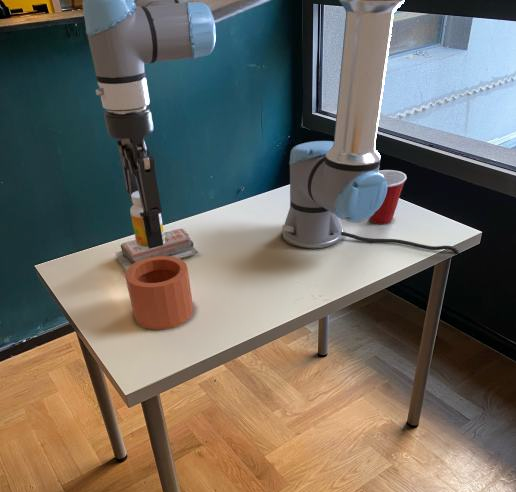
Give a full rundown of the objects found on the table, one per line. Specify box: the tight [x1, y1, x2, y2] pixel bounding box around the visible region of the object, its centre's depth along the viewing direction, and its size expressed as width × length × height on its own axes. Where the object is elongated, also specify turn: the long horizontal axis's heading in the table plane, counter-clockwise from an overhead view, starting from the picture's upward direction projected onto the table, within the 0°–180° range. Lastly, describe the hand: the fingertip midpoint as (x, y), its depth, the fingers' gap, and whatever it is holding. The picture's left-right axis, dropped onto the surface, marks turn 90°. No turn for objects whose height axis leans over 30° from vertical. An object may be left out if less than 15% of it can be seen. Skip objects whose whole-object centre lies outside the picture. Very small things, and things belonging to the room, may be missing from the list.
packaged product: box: [114, 228, 199, 272], centre depth 125 cm, size 18×5×10 cm
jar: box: [124, 256, 194, 331], centre depth 104 cm, size 12×12×10 cm
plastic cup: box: [369, 169, 408, 225], centre depth 135 cm, size 11×11×12 cm
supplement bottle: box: [129, 191, 165, 249], centre depth 94 cm, size 5×5×10 cm
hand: (150, 239), depth 97 cm, fingers closed on supplement bottle, 5 cm apart
